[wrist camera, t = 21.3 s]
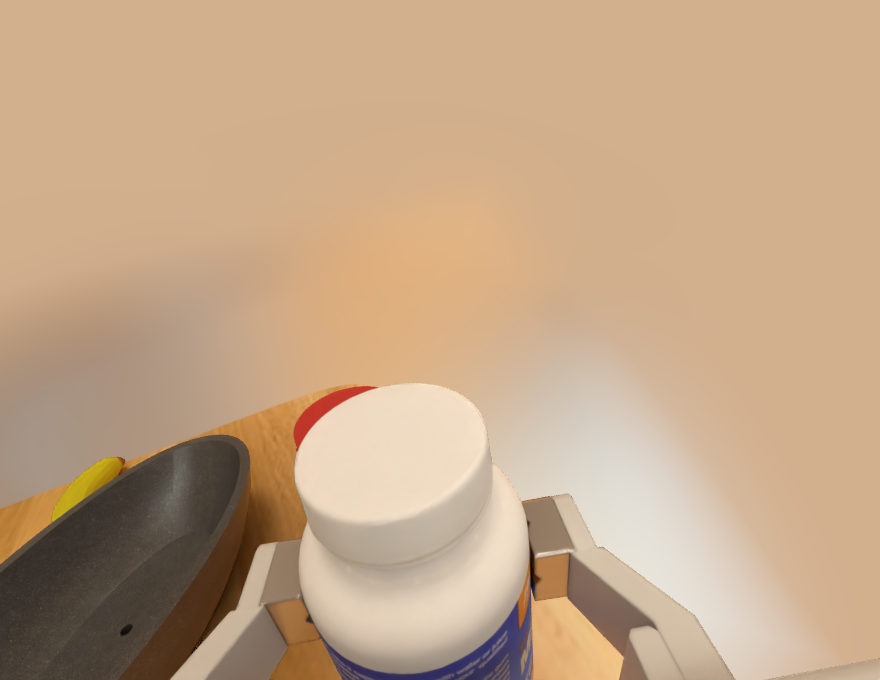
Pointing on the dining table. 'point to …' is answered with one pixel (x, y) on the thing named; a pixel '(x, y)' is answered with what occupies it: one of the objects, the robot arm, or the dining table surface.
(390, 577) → the pill bottle
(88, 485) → the fruit
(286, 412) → the dining table surface
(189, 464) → the bowl
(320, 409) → the lid
